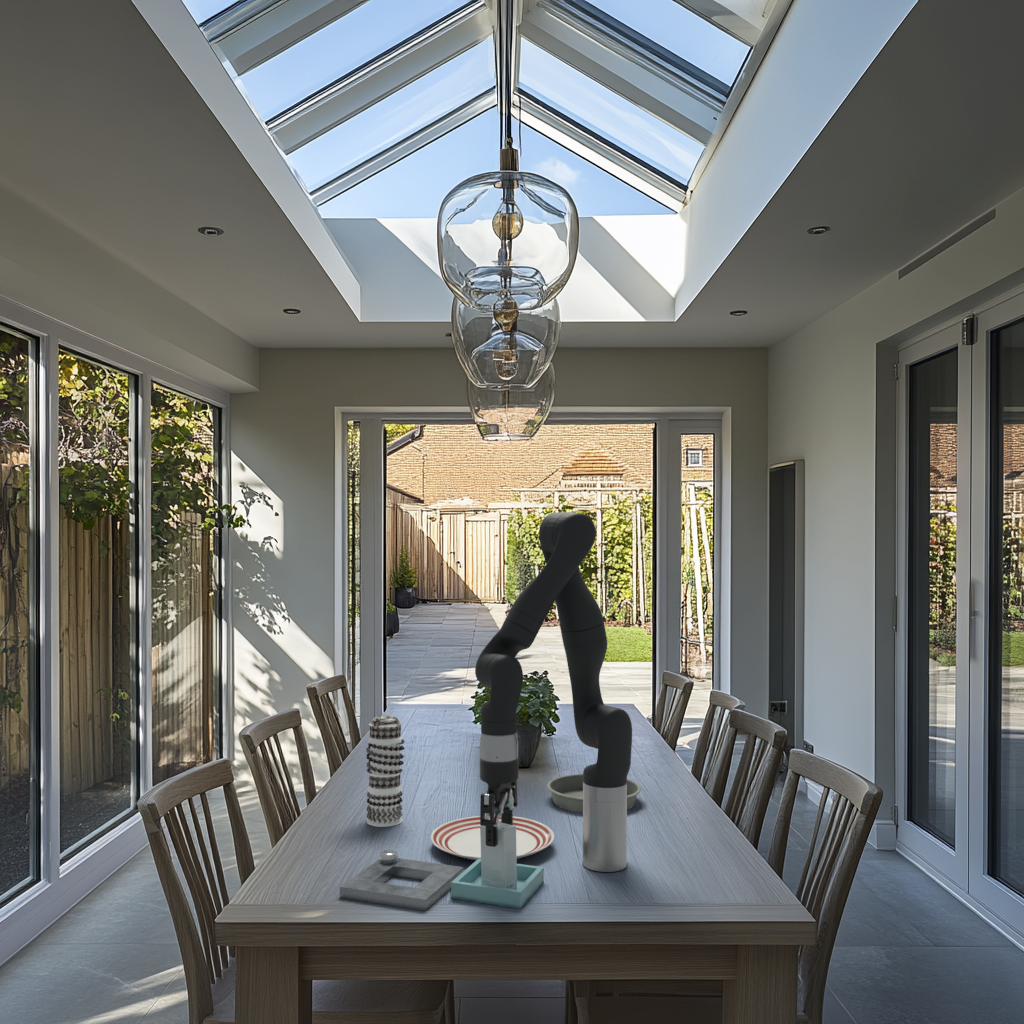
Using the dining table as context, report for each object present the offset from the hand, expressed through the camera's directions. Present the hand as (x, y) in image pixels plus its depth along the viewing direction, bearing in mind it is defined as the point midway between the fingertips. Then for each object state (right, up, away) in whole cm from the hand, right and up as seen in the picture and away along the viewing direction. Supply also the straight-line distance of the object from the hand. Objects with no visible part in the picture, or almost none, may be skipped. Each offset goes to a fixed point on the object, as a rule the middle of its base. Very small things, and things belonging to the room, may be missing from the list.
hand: (499, 838), depth 178 cm
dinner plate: (-2, -11, +24) cm, 27 cm away
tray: (0, -10, -1) cm, 10 cm away
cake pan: (+24, -13, +61) cm, 67 cm away
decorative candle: (-28, -11, +42) cm, 52 cm away
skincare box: (0, -10, -1) cm, 10 cm away
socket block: (-19, -10, +1) cm, 21 cm away
